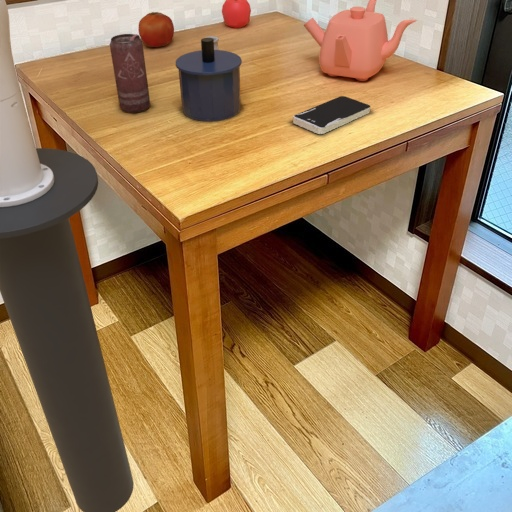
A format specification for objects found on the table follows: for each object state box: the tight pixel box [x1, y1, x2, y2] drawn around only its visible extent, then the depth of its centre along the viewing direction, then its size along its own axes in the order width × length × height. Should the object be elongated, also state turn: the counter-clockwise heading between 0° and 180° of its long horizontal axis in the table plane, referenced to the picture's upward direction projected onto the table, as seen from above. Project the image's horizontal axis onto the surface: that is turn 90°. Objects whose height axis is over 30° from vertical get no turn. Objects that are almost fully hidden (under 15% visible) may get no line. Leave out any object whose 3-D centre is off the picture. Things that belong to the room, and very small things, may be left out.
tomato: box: [138, 11, 175, 48], centre depth 150 cm, size 9×9×8 cm
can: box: [109, 33, 151, 114], centre depth 117 cm, size 6×6×14 cm
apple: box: [221, 0, 252, 29], centre depth 162 cm, size 8×8×8 cm
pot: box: [177, 66, 242, 122], centre depth 117 cm, size 12×12×10 cm
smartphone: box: [292, 95, 371, 135], centre depth 116 cm, size 8×1×15 cm
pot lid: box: [174, 37, 243, 75], centre depth 113 cm, size 13×13×5 cm
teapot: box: [303, 0, 418, 82], centre depth 131 cm, size 18×18×14 cm
